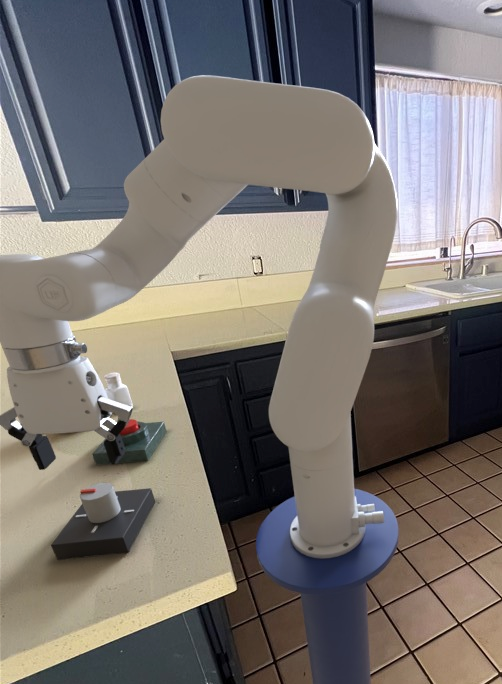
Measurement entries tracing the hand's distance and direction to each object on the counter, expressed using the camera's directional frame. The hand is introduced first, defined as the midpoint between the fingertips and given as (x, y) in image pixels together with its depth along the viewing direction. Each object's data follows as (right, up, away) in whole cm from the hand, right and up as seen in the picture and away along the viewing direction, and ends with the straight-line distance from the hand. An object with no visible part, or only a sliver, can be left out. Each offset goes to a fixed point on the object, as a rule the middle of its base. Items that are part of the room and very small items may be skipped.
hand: (83, 461), depth 64 cm
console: (-9, -1, +28) cm, 30 cm away
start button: (-9, +3, +26) cm, 28 cm away
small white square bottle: (-22, +7, +45) cm, 50 cm away
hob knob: (0, -9, +4) cm, 10 cm away
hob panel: (0, -12, +6) cm, 13 cm away
